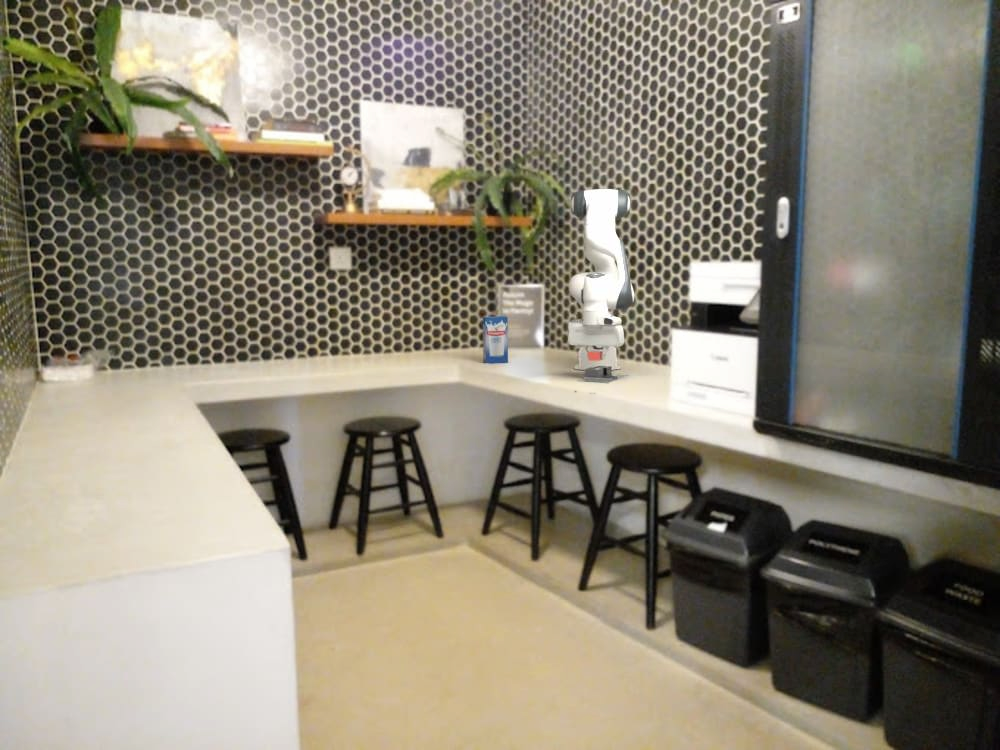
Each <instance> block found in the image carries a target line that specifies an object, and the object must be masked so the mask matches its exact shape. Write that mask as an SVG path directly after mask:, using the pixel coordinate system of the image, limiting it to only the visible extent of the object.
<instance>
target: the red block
mask: <svg viewBox="0 0 1000 750" xmlns="http://www.w3.org/2000/svg"><path fill="white" fill-rule="evenodd" d="M602 353H603V351H590V352H588V360H589V361H600V360H603V359H600V354H602Z"/></svg>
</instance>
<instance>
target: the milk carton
mask: <svg viewBox="0 0 1000 750" xmlns="http://www.w3.org/2000/svg"><path fill="white" fill-rule="evenodd" d="M508 318H509V317H508V316H502V315H501V316H482V341H483V342H482V346H483V347H482V350H483V351H482V352H483V355H482V356H483V357H482V358H483V363H484V362H485V364H486V363H490V364H508V363H509V346H508V345H509V343H508V342H509V333H508V332H509V331H508V329H509V328H508V326H509V324H508V323H509V322H508V321H509V319H508Z"/></svg>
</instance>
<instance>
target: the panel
mask: <svg viewBox="0 0 1000 750" xmlns="http://www.w3.org/2000/svg"><path fill="white" fill-rule="evenodd" d="M594 368H603V378H597V377H585V376H584V377H583V378H580V379H578V380H576V382H580V383H596V384H597V383H598V384H610V383H612V382H615V381H618V380H620V379H624V378H625V377H628V376H629V375H628V374H617V373H615V374H614V373H612V371H613V370H612V366H596V367H594Z"/></svg>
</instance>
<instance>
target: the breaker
mask: <svg viewBox="0 0 1000 750" xmlns="http://www.w3.org/2000/svg"><path fill="white" fill-rule="evenodd" d="M584 377H597V378H603V368H593V367H590V368H587V369H585V370H584Z"/></svg>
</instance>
